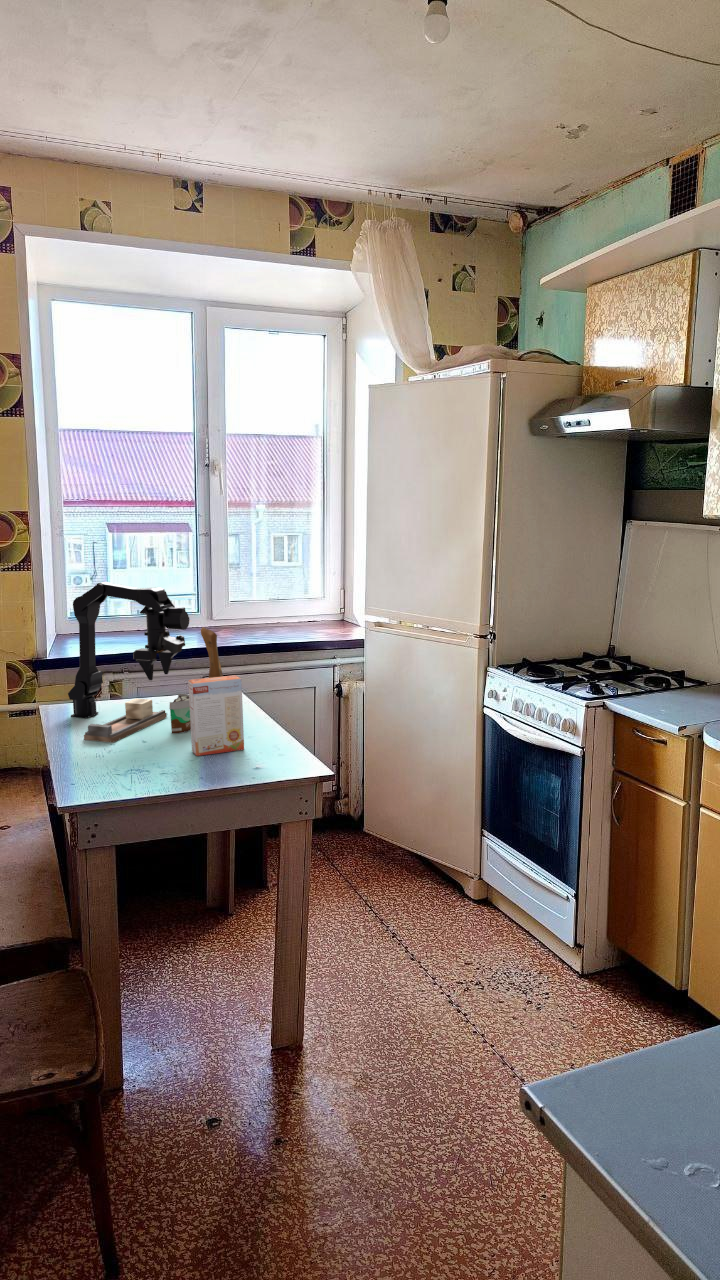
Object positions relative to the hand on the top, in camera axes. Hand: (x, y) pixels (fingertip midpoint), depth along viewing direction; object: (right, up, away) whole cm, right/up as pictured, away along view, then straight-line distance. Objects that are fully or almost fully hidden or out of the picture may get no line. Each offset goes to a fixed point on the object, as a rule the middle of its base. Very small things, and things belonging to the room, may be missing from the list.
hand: (158, 677), depth 272 cm
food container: (+10, -16, -6) cm, 20 cm away
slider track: (-9, -16, -4) cm, 18 cm away
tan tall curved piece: (+16, -12, +16) cm, 25 cm away
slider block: (-7, -13, +2) cm, 14 cm away
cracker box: (+23, -20, -28) cm, 41 cm away
